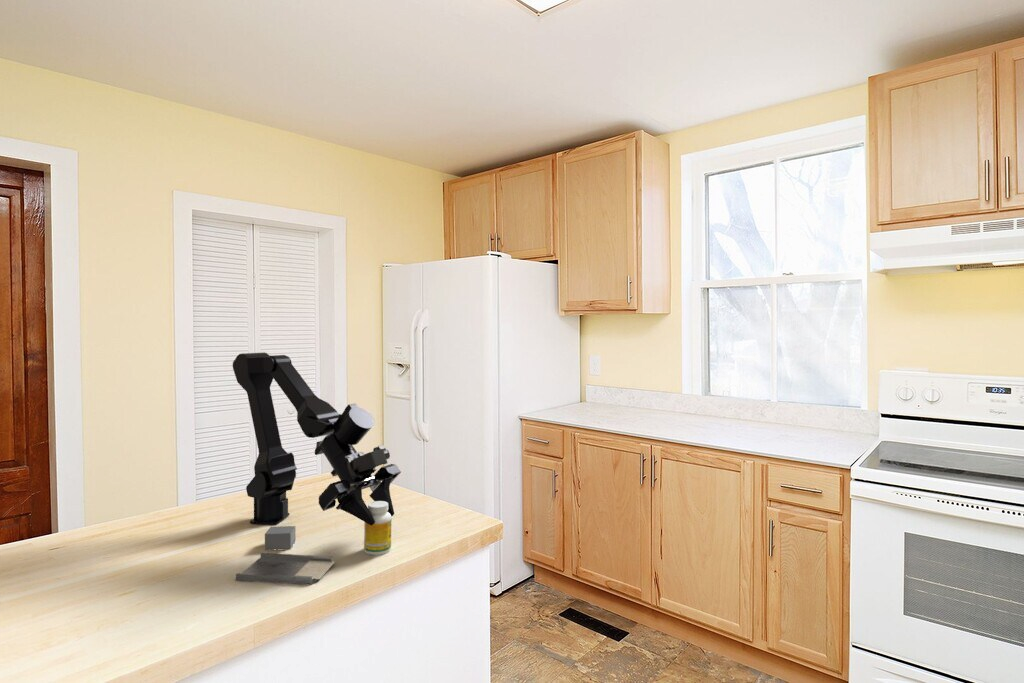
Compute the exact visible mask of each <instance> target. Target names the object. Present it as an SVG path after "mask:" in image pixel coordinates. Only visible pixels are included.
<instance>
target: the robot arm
mask: <svg viewBox="0 0 1024 683" xmlns="http://www.w3.org/2000/svg"><path fill="white" fill-rule="evenodd" d="M232 370H233V372H234V373H233V374H234V375H235V379H236V382H237V383H238V384H239V386H240V387H241V388H242V389H243V390H244V391H245V392H246V394H247V398H248V404H249V409H250V414H251V418H252V419H251V420H252V424H253V428H254V433H255V440H256V442H257V443H256V445H257V449H258V454H257V458H256V461H255V463H254V467H253V469H254V471H253V472H254V477H252V479H251V480H250V482H248V484H247V485H246V487H245V490H246V494H247V497H250V498H253V518H252V519H250V520H249V523H250V524H259V525H261V524H262V525H263V524H264V525H278V524H280V523H281V522H282V521H284V520H285V519H286V518H287V517H289V516H290V512H289V499H288V497H287V492H288V491H292V490H293V487H294V482H295V479H296V477H297V470H298V468H297V465H296V463H295V455H294V453H293V452H287V451H286V450H285V449H284V448H283V446H282V445H283V444H282V441H281V436H280V431H279V425H278V421H277V420H278V419H277V416H276V411H275V407H274V401H273V396H272V392H271V386H272V383H273V380H274V381H275V383H276V384H277V385H278V387H279V389H281V390H282V392H283V393H284V395H285V396H286V398H288V400H289V401H290V403H291V404H292V406H293V407H294V408H295V410H296V412H297V413H296V415H297V416H296V421H297V422H298V425H299V427H300V429H301V431H302V433H303V434H304V436H306V437H307V438H310V439H314V438H315V439H316V438H318V437H324V436H325V437H324V438H323V439H322V440H319V441H317V442H316V445H315V448H314V455H315V456H318V455H322V454H323V455H324V456H325V458H326V459H327V461H328V462H329V464H330V465H331V467H332V470H331V471H330V474H331V476H332V477H338V479H339V480H338V481H335V482H331V483H329V485H327V487H325V489H324V490H323V492H321V494H320V495H318V505H319V506H320V509H321V510H322V511H323V512H325V511H328V510H330V509H333V508H335V509H336V510H337V511H338V510H341V511H344V512H346V513H348V514H349V515H352V516H354V517H356V518H357V519H359V520H361V521H362V522H366V523H367V524H369V525H373V524H374V523H375V521H374V518H373V516H372V514H371V513H370V511H369V509H368V505H367V504H366V502H365V500H364V499H363V495H362V494H363V492H362V490H365V489H368V488H369V490H370V491H371V493H370V494H369V497H370V498H371V499H372V501H373V502H375V501H385V502H387V503H388V511H387V512H389V513H390V514H391V518H392V517H393V516H394V515H395V511H394V505H393V502H392V497H391V491H390V486H391V484H392V483H393V482H394V481H395V479H396V478H397V477H398V476H400V474H401V473H402V471H401V470H400V468H399V467H398V466H397V465H398V464H393V463H390V464H388V459H389V460H390V457H391V455H390V453H391V452H390V451H389V449H388V448H387V447H386V446H385V444H380V445H378V446H376V447H373V449H372V450H373V451H369V452H367V453H364V452H363V451H359V452H357V450H356V449H355V447H354V446H355V445H358V444H359V443H360V442H361V440H362V439H364V437H365V436H366V435H367V434H368V432H370V431H371V429H372V428H373V426H374V425H375V418H374V417H373V414H371V412H369V411H368V410H366V409H364V408H362V407H359V406H358V404H356V403H351V404H350V403H349V404H347V406H345V408H344V410H343V412H342V413H339V412H338V411H337V409H335V408H334V407H333V406H332V405H331V404H330V403H329V402H327V401H325V400H323V399H321V398H319V397H318V396H317V395H316V394H315V393H314V391H313V390H312V389H311V388H310V386H309V385H308V384H307V382H306V381H305V379H304V378H303V377H302V376H301V374H300V373H299V372H298V370H297V369H296V368H295V366H294V365H293V364H292V360H291V358H290V357H289V356H288V355H285V354H279V355H278V354H276V355H270V354H268V353H267V352H264V351H263V352H249V353H248V352H247V353H246V352H244V353H243V352H242V353H239V354H238V355H237V356H236V357H235V359H234V360H233V361H232ZM386 464H387V465H386ZM382 465H384V466H382ZM379 466H381V467H379ZM377 467H379V469H378V470H377ZM374 473H375V474H374ZM372 474H373V475H372ZM336 503H338V504H337V505H336ZM335 506H336V507H335Z"/></svg>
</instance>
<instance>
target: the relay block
mask: <svg viewBox="0 0 1024 683" xmlns="http://www.w3.org/2000/svg"><path fill="white" fill-rule="evenodd" d="M296 528H297V527H296V525H285V526H283V525H282V526H270V527H269V528H268V530H266V532H265V533H264V551H278V549H289V550H291V549H292V548H293V546H294V545H295V543H296V542H295V541H296V533H297V532H296V530H297V529H296ZM293 544H294V545H293ZM274 549H276V550H274Z"/></svg>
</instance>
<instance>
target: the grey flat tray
mask: <svg viewBox="0 0 1024 683" xmlns="http://www.w3.org/2000/svg"><path fill="white" fill-rule="evenodd" d="M335 563H336V562H335V561H333V557H332V556H331V555H315V554H314V555H309V554H290V553H271V552H270V553H269V552H268V553H267V552H261V553H260V557H259V558H258V559H257V560H256V561H255V562H253V563H252V564H250V565H249V566H248V567H247V568H245V570H243V571H242V572H236V573H235V581H236V580H243V581H242V582H254V581H257V583H259V582H260V583H273V582H274V583H276V584H278V583H279V584H292V585H293V584H295V585H296V584H297V585H313V584H314V583H315V581H316V580H320V579H322V578H323V577H324V575H325V574H326V573H327V572H328V571H329V570H330V569H331V567H332V566H333V565H334V564H335ZM258 581H259V582H258Z"/></svg>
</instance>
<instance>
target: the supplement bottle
mask: <svg viewBox="0 0 1024 683" xmlns="http://www.w3.org/2000/svg"><path fill="white" fill-rule="evenodd" d="M367 507H368V509H369V511H370V513H371V514H372V516H373V518H374V521H375V523H374V524H373V525H369V524H367V523H366V522H364V521H363V522H364V525H363V526H364V533H363V534H364V536H363V538H364V540H363V541H364V542H363V543H364V544H363V549H364V553H365V554H368V555H371V556H381V555H385V554H387V553H388V552H390V550H391V548H392V517H391V514H390V513H389V512H387V511H388V503H387V502H385V501H372V502H369V503H368V504H367Z"/></svg>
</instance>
